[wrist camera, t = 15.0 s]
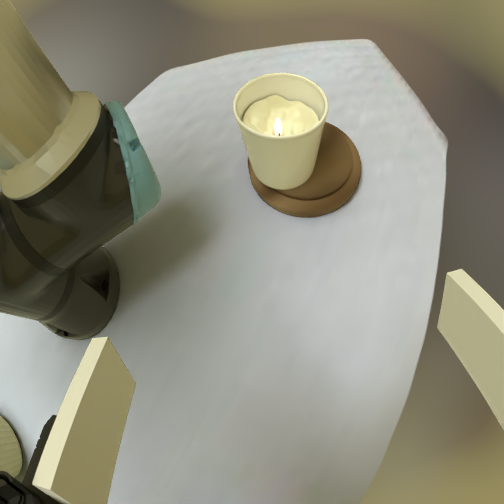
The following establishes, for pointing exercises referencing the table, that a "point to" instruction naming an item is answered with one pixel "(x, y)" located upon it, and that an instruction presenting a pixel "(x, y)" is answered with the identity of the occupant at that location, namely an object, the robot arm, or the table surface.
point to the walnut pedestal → (319, 179)
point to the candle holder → (281, 127)
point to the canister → (9, 450)
